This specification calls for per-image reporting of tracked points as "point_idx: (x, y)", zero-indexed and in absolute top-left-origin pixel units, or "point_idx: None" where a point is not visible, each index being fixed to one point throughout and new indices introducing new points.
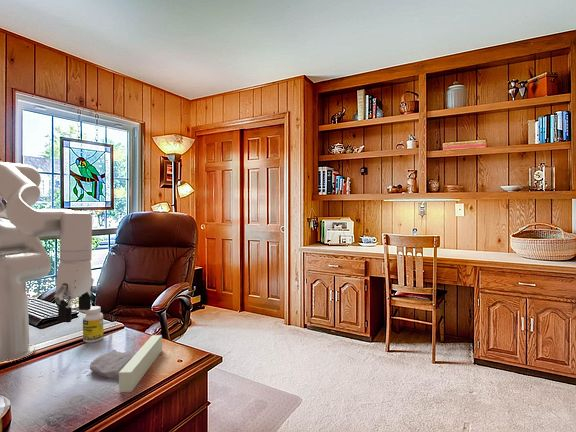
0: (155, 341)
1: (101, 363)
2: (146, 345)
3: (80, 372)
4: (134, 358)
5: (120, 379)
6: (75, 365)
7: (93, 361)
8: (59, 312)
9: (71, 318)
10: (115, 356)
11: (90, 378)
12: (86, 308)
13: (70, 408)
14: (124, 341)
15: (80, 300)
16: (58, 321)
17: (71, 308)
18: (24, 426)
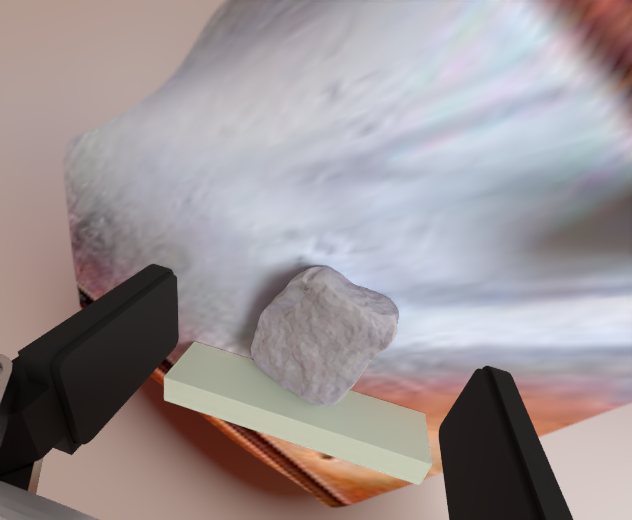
0: (364, 464)
1: (300, 310)
2: (337, 441)
3: (326, 232)
4: (244, 409)
5: (176, 365)
6: (394, 200)
7: (319, 286)
8: (84, 320)
9: (157, 360)
10: (330, 348)
11: (276, 269)
12: (449, 428)
13: (134, 253)
14: (581, 340)
15: (499, 484)
16: (153, 264)
17: (81, 440)
18: (66, 173)
